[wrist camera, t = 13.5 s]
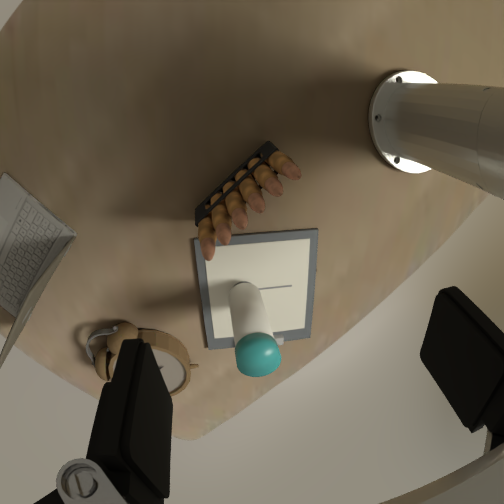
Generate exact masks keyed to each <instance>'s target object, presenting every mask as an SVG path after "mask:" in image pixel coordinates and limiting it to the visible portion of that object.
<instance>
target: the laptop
mask: <svg viewBox="0 0 504 504" xmlns="http://www.w3.org/2000/svg"><path fill="white" fill-rule="evenodd" d="M51 214H52V215H53V216H54V217H53V216H52V215H51ZM55 217H56V218H57V219H58V220H59V221H60V222H59V221H58V220H57V219H56V218H55ZM62 222H63V221H62V220H61V219H59V218H58V217H57V216H56V215H54V214H53V213H52V212H51V211H50V210H48V209H47V208H46V207H45V206H44V205H43V204H41V203H40V202H39V201H38V200H37V199H35V198H34V197H33V196H32V195H31V194H30V193H28V192H27V191H26V190H25V189H24V188H23V187H21V186H20V185H19V184H18V183H17V182H16V181H15V180H13V179H12V178H11V177H10V176H9V175H8V174H7V173H5V172H4V173H3V175H2V177H1V179H0V305H1V306H2V307H3V308H4V309H5V310H7V311H8V312H9V313H10V314H12V315H13V316H14V317H15V318H16V319H15V321H14V324H13V326H12V328H11V330H10V333H9V335H8V337H7V340H6V342H5V344H4V347H3V349H2V352H1V354H0V368H1V366H2V364H3V363H4V361H5V359H6V357H7V355H8V353H9V352H10V350H11V348H12V346H13V345H14V343H15V341H16V340H17V338H18V336H19V335H20V333H21V331H22V330H23V328H24V326H25V324H26V322H27V321H28V320H29V318H30V316H31V314H32V311H33V309H34V307H35V305H36V303H37V301H38V300H39V298H40V296H41V294H42V292H43V291H44V289H45V287H46V285H47V283H48V282H49V280H50V278H51V277H52V275H53V273H54V271H55V270H56V268H57V266H58V265H59V263H60V262H61V260H62V258H63V257H65V255H66V253H67V252H68V250H69V249H70V247H71V244H72V242H73V241H74V239H75V238H76V235H77V233H76V232H75V231H74V230H73V229H71V228H70V227H69V226H68V225H67V224H65V223H64V222H63V223H62ZM67 241H68V242H67ZM66 243H67V244H66Z"/></svg>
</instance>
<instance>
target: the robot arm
mask: <svg viewBox="0 0 504 504" xmlns="http://www.w3.org/2000/svg"><path fill="white" fill-rule="evenodd" d="M375 116H376V119H375ZM368 120H369V130H370V134H371V137H372V141H373V143H374V145H375V147H376V149H377V151H378V152H379V154H380V155H381V157H382V158H383V159H384V160H385V161H386V162H387V163H388V164H390V165H391V166H393V167H394V168H396V169H399V170H401V171H403V172H407V173H422V172H426V171H428V170H430V169H434V170H437V171H439V172H442V173H444V174H447V175H449V176H452V177H454V178H456V179H459V180H461V181H463V182H466V183H468V184H470V185H473V186H475V187H477V188H479V189H482V190H484V191H486V192H488V193H490V194H492V195H494V196H497V197H499V198H501V199H503V200H504V88H503V87H493V86H482V85H468V84H448V83H437V82H436V81H435V80H434V79H433V78H431V77H430V76H428V75H426V74H425V73H422V72H419V71H412V70H406V71H399V72H396V73H393V74H391V75H389V76H388V77H386V78H385V79H384V80H383V81H382V82H381V83H380V84H379V86H378V87H377V88H376V90H375V92H374V94H373V97H372V99H371V103H370V107H369V118H368ZM420 358H421V360H422V362H423V363H424V365H425V367H426V368H427V369H428V371H429V372H430V374H431V375H432V377H433V378H434V380H435V381H436V383H437V384H438V386H439V388H440V389H441V391H442V392H443V394H444V395H445V397H446V398H447V400H448V401H449V403H450V405H451V406H452V408H453V409H454V411H455V412H456V414H457V416H458V417H459V419H460V420H461V422H462V424H463V425H464V426H465V427H467V428H469V430H470V431H471V433H474V432H475V431H477V430H479V429H481V428H483V426H484V425H486V427H487V435H486V442H485V448H484V454H483V456H482V457H480V458H478V459H477V460H475V461H473V462H471V463H469V464H467V465H466V466H464V467H462V468H460V469H458V470H456V471H454V472H452V473H450V474H448V475H446V476H444V477H442V478H440V479H438V480H436V481H434V482H431V483H429V484H427V485H425V486H423V487H421V488H418V489H416V490H413V491H411V492H408V493H406V494H404V495H401V496H398V497H396V498H393V499H390V500H388V501H385V502H382V503H379V504H504V333H503V332H502V331H501V330H500V329H499V328H498V327H497V326H496V325H495V324H494V323H493V322H492V321H491V320H490V319H489V318H488V317H487V316H486V315H485V314H484V313H483V312H482V311H481V310H480V309H479V308H478V307H477V306H476V305H475V304H474V303H473V302H472V301H471V300H470V299H469V298H468V297H467V296H466V295H465V294H464V293H463V292H462V291H461V290H460V289H458V288H457V287H455V286H452V287H448V288H444V289H442V290H440V291H439V293H438V295H437V296H436V298H435V301H434V305H433V309H432V313H431V317H430V320H429V324H428V328H427V331H426V334H425V338H424V341H423V344H422V348H421V351H420ZM172 414H173V403H172V398H171V396H170V393H169V391H168V389H167V386H166V384H165V381H164V379H163V376H162V374H161V371H160V369H159V366H158V364H157V361H156V359H155V356H154V353H153V351H152V348H151V345H150V344H149V343H148V342H147V343H144V341H143V339H142V338H137V339H124V340H123V341H122V344H121V348H120V351H119V355H118V358H117V362H116V365H115V369H114V373H113V377H112V380H111V382H106V383H105V384H104V386H103V389H102V392H101V396H100V400H99V404H98V408H97V412H96V416H95V420H94V424H93V428H92V433H91V438H90V441H89V446H88V451H87V456H86V459H83V458H81V459H74V460H72V461H69V462H67V463H66V464H65V465H63V466H62V468H61V469H60V471H59V472H58V475H57V478H56V487H57V489H55V490H54V491H52V492H51V493H50V494H48V495H46V496H45V497H43V498H42V499H40V500H39V501H37V502H36V503H34V504H164V498H168V497H169V493H170V455H171V454H170V453H171V432H172Z"/></svg>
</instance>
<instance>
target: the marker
mask: <svg viewBox="0 0 504 504" xmlns="http://www.w3.org/2000/svg"><path fill="white" fill-rule="evenodd" d="M228 300H229V307H230V314H231V321H232V328H233V335H234V342H235V355H236V362H237V367H238V369H239V371H240V372H241V373H243V374H245V375H247V376H251V377H260V376H265V375H268V374H270V373H272V372H273V371H275V370H276V369H277V368H278V366H279V365H280V362H281V355H280V352H279V348H278V345H277V342H276V340H275V339H274V336H273V332H272V329H271V326H270V323H269V319H268V316H267V313H266V309H265V306H264V303H263V299H262V296H261V293H260V290H259V289H258V287H256V286H255V285H253V284H251V283H250V282H247V281H242V282H238V283H237V284H235V285H234V286H233V288H232V289H231V290H230V292H229V295H228Z"/></svg>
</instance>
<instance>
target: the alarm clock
mask: <svg viewBox="0 0 504 504" xmlns="http://www.w3.org/2000/svg"><path fill="white" fill-rule="evenodd" d="M100 335H108V337H107V346H108V348H102V349H101V350H99V352H98V353H97V355H96V359H95V357H94V355H93V354H92V352H91V350H90V348H89V342H90V341H91V340H92V339H93V338H94V337H97V336H100ZM137 338H142V339H143V341H144V343H147V342H148V343H149V344H150V345H151V348H152V351H153V353H154V356H155V359H156V361H157V364H158V366H159V369H160V371H161V374H162V376H163V379H164V381H165V384H166V386H167V389H168V391H169V393H170V396H174V395H176V394H178V393H180V392H181V391H182V390H184V389H185V388H186V386H187V385H188V383H189V382H190V375H191V371H190V369H192V368H197V367H198V364H189V355H188V352H187V349H186V348H185V346H184V345H183V344H182V343H181V342H180V341H179V340H178V339H176V338H174V337H173V336H171V335H169V334H167V333H163V332H160V331H157V330H144V329H143V330H138V329H137V327H136V326H134V325H133V324H131V323H127V322H125V323H120V324H118V325H116V326H113V328H111V329H100V330H96V331H94V332H93V333H92V334H91V335H90V336H89V337H88V340H87V344H86V352H87V355H88V356H89V358H90V359H91V360H92V365H94V367H95V368H96V372H97V374H98V376H99V377H100V378H101V379H103V380H105V381H109V379H110V377H111V379H112V377H113V373H114V369H115V365H116V362H117V358H118V355H119V351H120V348H121V344H122V341H123V340H124V339H137ZM108 351H111V357H110V358H108V357H107V356H106V353H107V352H108Z"/></svg>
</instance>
